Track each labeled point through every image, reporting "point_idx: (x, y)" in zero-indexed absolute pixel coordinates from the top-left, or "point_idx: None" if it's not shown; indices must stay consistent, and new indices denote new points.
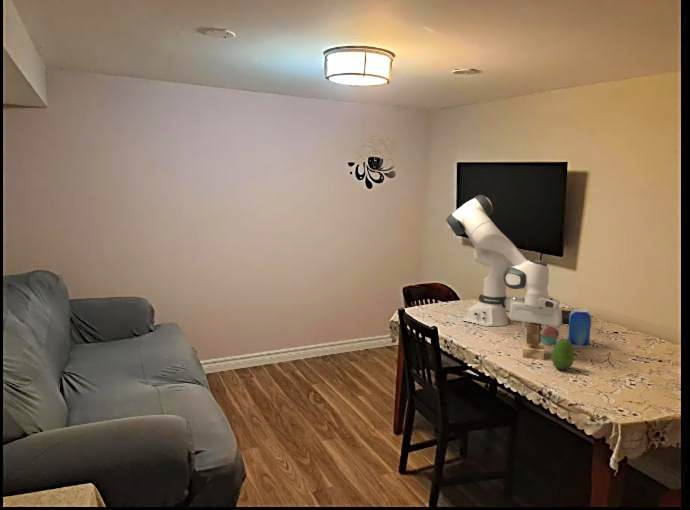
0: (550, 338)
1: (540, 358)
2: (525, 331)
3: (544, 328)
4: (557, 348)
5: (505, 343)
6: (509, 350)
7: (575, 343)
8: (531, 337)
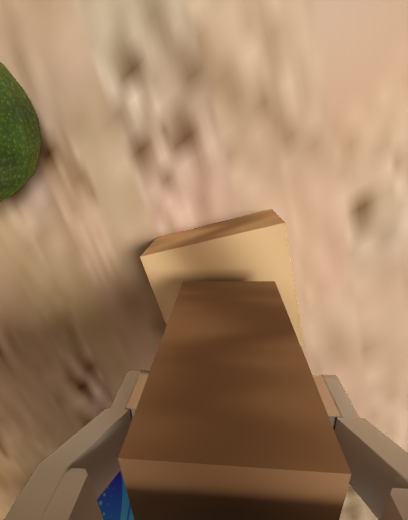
0: None
1: (171, 236)
2: (326, 380)
3: (76, 442)
4: None
5: (402, 389)
6: (368, 296)
7: None
8: (239, 314)
